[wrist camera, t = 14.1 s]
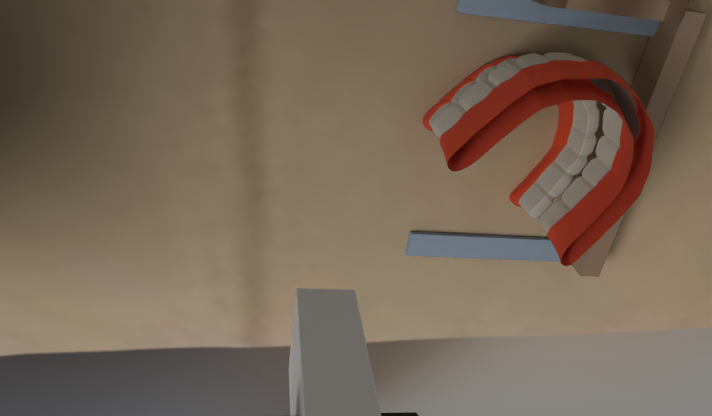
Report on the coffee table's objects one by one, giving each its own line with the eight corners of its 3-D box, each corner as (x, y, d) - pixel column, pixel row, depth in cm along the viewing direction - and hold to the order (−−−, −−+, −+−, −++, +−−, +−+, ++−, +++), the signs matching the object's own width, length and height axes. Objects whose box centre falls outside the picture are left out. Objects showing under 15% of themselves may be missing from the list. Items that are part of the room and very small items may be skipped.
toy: (627, 113, 40) (700, 157, 33) (521, 211, 43) (569, 270, 36) (522, -6, 35) (583, 17, 28) (410, 115, 38) (441, 162, 31)
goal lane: (405, 252, 44) (412, 270, 42) (462, -22, 34) (475, -17, 32) (584, 259, 46) (598, 276, 44) (682, 7, 37) (707, 13, 35)
